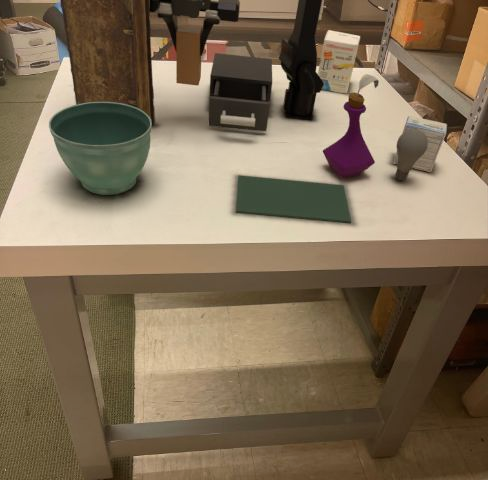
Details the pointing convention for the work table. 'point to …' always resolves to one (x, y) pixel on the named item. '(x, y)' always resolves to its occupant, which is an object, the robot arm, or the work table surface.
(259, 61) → the dark grey box
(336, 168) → the perfume bottle
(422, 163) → the medicine box
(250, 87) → the drawer
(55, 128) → the flower pot
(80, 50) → the book
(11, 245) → the work table surface
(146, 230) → the work table surface
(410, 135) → the light bulb
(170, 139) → the work table surface
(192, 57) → the box
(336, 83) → the ink box
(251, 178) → the front mat
